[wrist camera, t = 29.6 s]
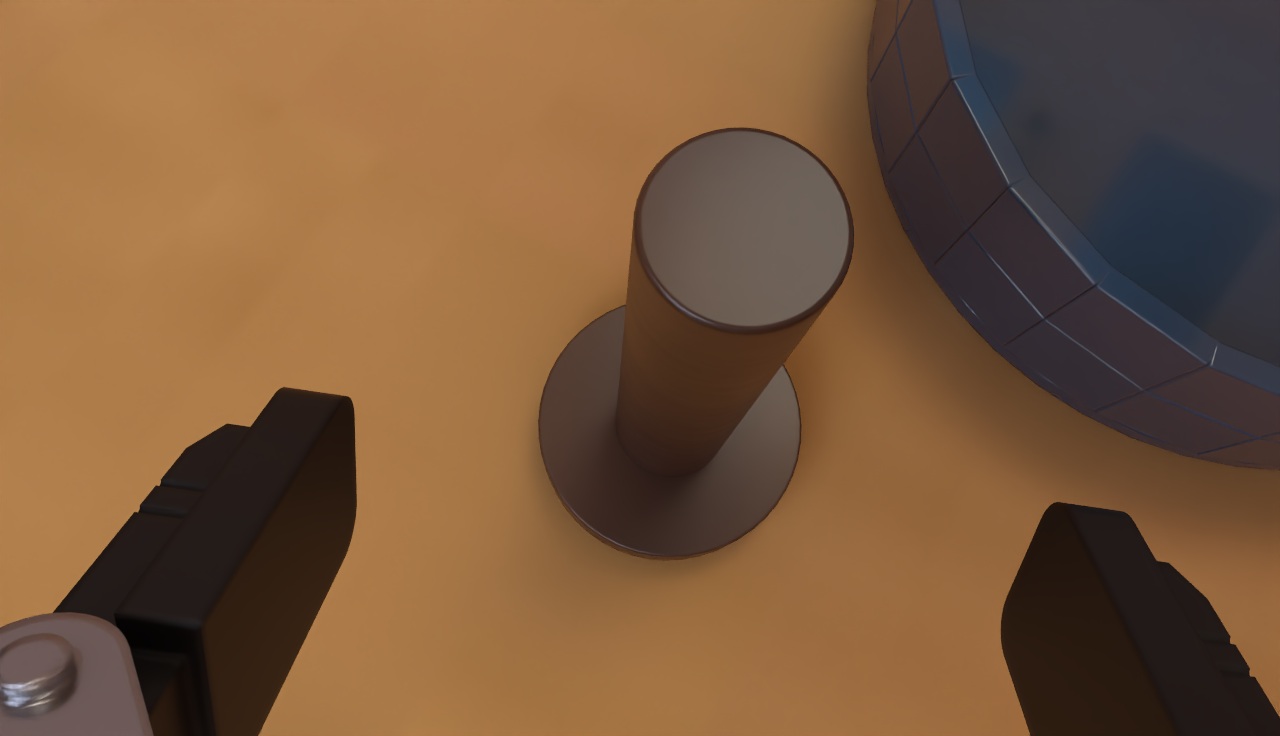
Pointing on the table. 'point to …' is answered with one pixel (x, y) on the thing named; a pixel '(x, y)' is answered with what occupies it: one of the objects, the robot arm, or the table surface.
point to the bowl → (1100, 200)
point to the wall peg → (699, 349)
